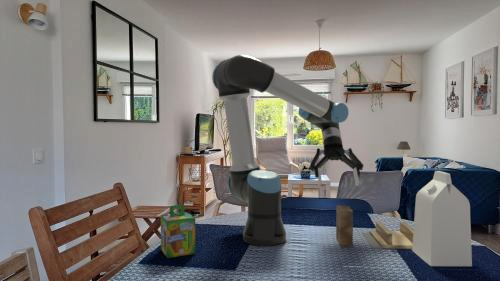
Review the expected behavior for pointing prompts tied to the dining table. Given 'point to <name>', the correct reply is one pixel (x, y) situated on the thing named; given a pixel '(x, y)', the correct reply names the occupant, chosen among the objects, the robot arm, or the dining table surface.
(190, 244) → the chalk box
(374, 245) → the mat
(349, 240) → the brown wooden block
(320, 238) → the dining table surface
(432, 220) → the milk
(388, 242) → the rack
